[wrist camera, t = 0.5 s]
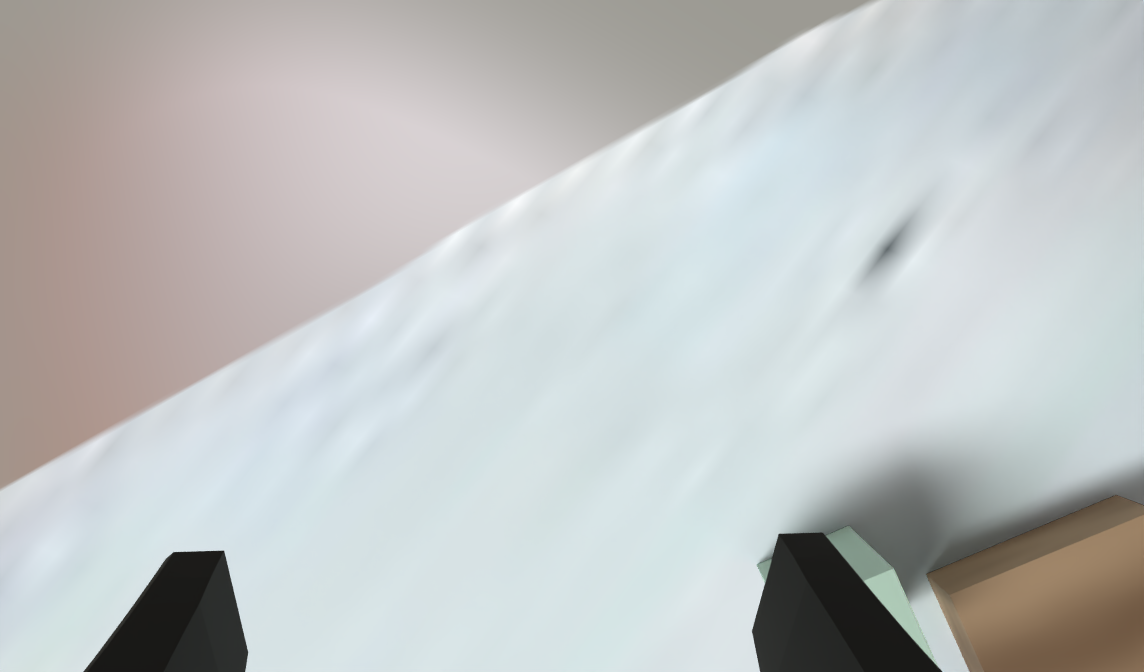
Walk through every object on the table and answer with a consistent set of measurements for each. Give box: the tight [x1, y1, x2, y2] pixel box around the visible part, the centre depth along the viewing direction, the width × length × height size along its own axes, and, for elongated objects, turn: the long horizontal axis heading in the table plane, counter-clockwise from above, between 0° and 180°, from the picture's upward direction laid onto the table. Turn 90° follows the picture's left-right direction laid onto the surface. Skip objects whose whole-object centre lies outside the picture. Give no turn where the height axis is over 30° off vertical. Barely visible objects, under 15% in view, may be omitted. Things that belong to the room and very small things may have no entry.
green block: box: [757, 526, 937, 665], centre depth 33 cm, size 4×4×6 cm
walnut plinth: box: [926, 495, 1144, 672], centre depth 34 cm, size 8×8×3 cm
